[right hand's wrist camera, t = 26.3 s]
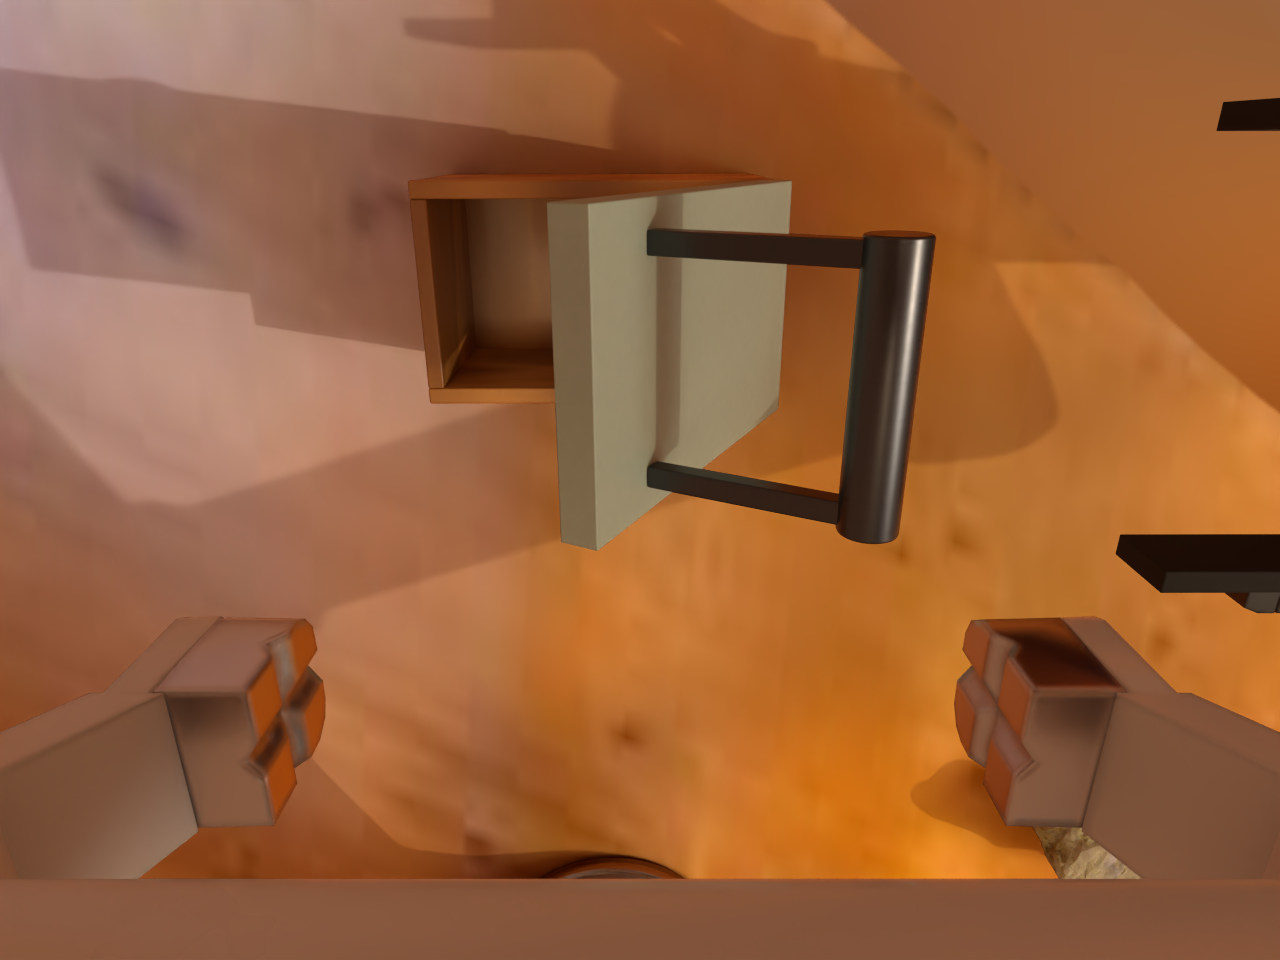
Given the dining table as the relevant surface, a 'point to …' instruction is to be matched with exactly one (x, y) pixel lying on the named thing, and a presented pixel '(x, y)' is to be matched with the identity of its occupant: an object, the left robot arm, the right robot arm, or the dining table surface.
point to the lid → (717, 354)
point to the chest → (501, 275)
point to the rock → (1079, 855)
